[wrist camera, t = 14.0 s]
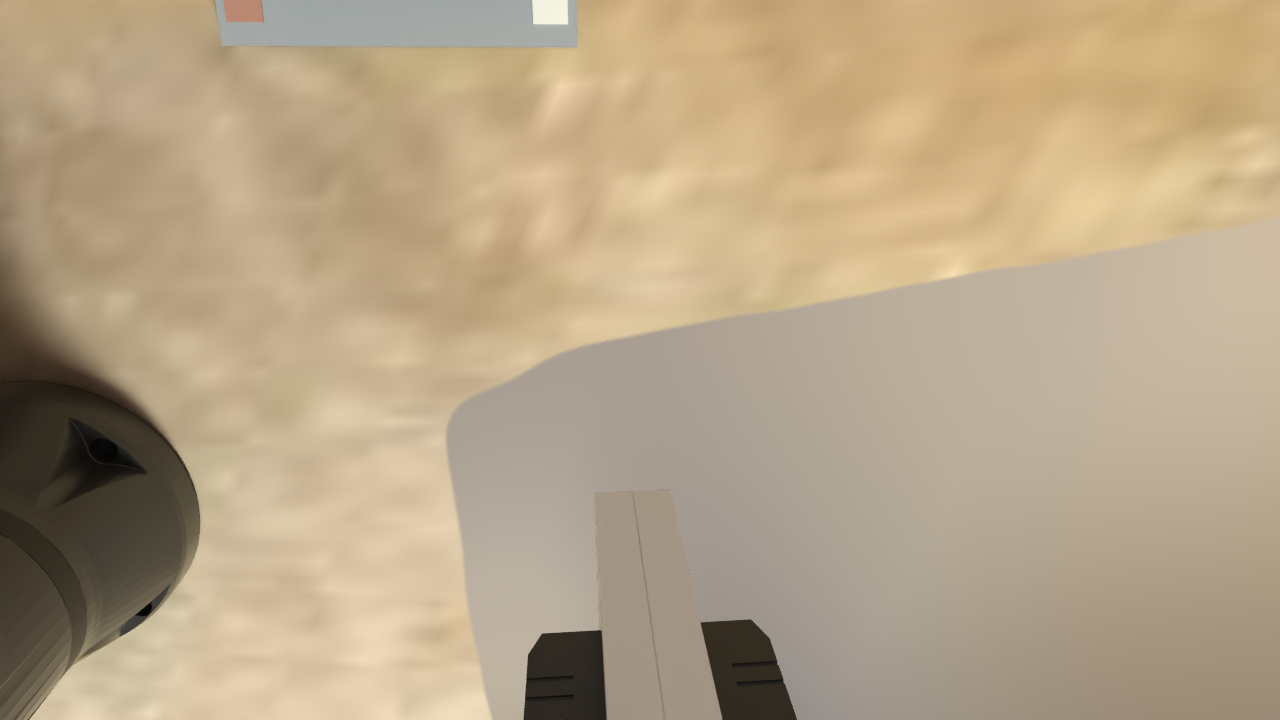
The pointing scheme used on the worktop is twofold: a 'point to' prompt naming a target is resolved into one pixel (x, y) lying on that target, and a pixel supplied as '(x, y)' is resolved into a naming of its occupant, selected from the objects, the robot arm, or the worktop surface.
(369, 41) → the panel
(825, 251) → the worktop surface
